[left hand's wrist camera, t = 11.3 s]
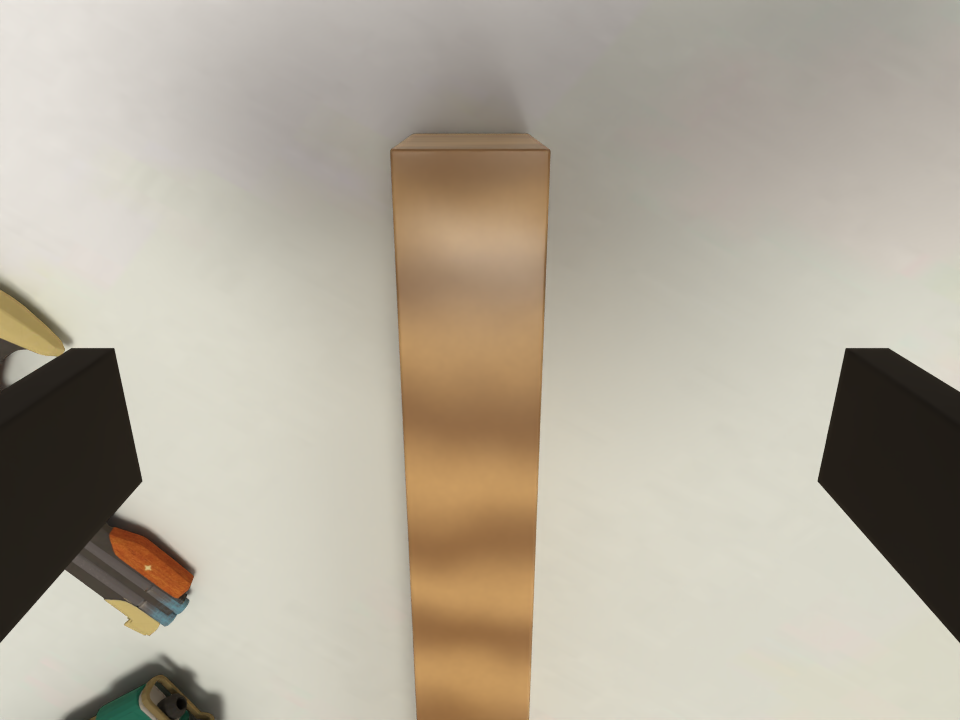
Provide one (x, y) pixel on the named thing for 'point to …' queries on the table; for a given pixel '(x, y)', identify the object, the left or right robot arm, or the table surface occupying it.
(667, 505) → the table surface
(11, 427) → the left robot arm
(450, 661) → the post
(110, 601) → the toy gun
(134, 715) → the spray gun
